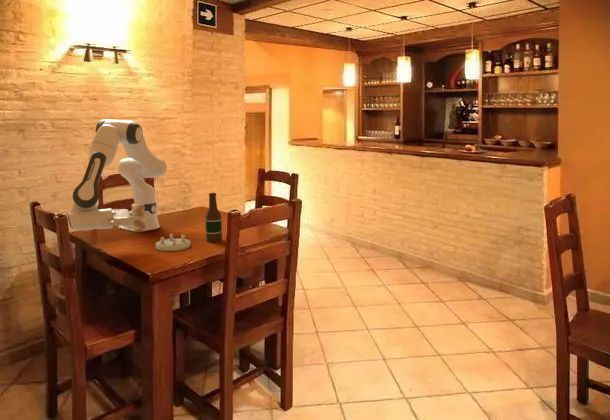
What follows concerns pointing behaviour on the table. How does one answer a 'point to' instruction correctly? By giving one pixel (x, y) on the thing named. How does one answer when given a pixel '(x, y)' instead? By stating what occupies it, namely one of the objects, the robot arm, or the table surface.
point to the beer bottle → (213, 221)
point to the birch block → (140, 224)
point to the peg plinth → (170, 246)
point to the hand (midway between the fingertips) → (140, 216)
